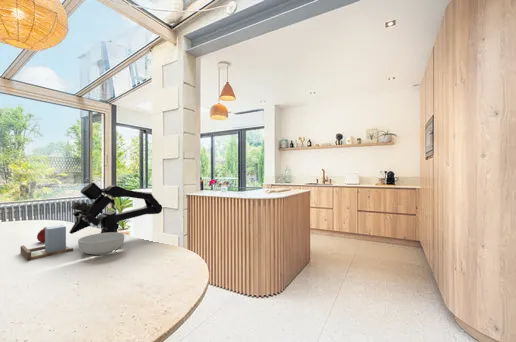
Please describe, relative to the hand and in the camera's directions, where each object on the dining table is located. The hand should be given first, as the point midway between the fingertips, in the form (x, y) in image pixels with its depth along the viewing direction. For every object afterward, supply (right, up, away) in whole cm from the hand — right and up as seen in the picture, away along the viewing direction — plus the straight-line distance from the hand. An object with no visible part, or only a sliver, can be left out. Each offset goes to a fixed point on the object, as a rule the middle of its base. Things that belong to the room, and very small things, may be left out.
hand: (70, 233), depth 109 cm
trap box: (-5, -7, -6) cm, 11 cm away
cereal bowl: (+17, -8, -4) cm, 19 cm away
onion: (-18, -7, +8) cm, 21 cm away
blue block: (-3, -6, -4) cm, 8 cm away
